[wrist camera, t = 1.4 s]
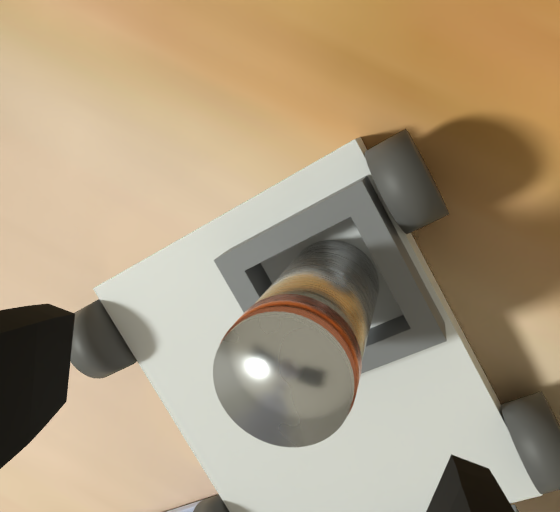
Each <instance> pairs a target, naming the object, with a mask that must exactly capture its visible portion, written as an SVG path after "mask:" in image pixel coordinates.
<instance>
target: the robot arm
mask: <svg viewBox="0 0 560 512" xmlns="http://www.w3.org/2000/svg"><path fill="white" fill-rule="evenodd" d="M74 320H75V314H74V313H71V312H69V311H66V310H63V309H61V308H58V307H55V306H53V305H50V304H41V305H32V306H24V307H18V308H12V309H6V310H0V469H1V468H2V467H3V466H4V465H5V464H6V463H7V462H9V461H10V460H11V459H12V458H13V457H14V456H15V455H17V454H18V453H19V452H20V451H21V450H22V449H23V448H24V447H25V446H27V445H28V444H29V443H30V442H31V441H32V439H33V438H34V437H35V436H36V435H37V434H38V433H39V432H40V431H41V430H42V429H43V428H44V427H45V425H46V424H47V423H48V422H49V421H50V420H51V419H52V417H53V416H54V415H55V414H56V413H57V412H58V410H59V409H60V408H61V407H62V406H63V405H64V404H65V402H66V399H67V389H68V379H69V369H70V359H71V350H72V340H73V330H74ZM201 501H202V500H201ZM199 502H200V501H198V502H194V503H191V504H188V505H185V506H182V507H179V508H176V509H173V510H169V511H166V512H193V511H194V509H195V507H196V505H197V504H198V503H199ZM426 512H515V511H514V510H513V508H512V506H511V505H510V503H509V501H508V499H507V498H506V496H505V494H504V492H503V491H502V489H501V487H500V486H499V484H498V482H497V481H496V479H495V477H494V476H493V474H492V473H491V471H490V469H489V468H486V467H484V466H481V465H478V464H476V463H473V462H470V461H468V460H465V459H462V458H460V457H457V456H454V455H452V454H451V456H450V459H449V461H448V463H447V466H446V468H445V470H444V472H443V475H442V477H441V479H440V481H439V484H438V486H437V488H436V491H435V493H434V495H433V497H432V500H431V502H430V504H429V506H428V509H427V511H426Z"/></svg>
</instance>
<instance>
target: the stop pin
mask: <svg viewBox="0 0 560 512" xmlns="http://www.w3.org/2000/svg"><path fill="white" fill-rule="evenodd" d="M378 294H379V279H378V274H377V271H376V269H375V266H374V265H373V263H372V261H371V260H370V259H369V257H368V256H367V255H366V254H365V253H364V252H363V251H361V250H360V249H359V248H357V247H356V246H354V245H352V244H349V243H347V242H343V241H339V240H323V241H319V242H316V243H313V244H311V245H309V246H308V247H306V248H305V249H303V250H302V251H301V252H300V253H299V254H298V255H297V256H296V257H295V259H294V260H293V261H292V262H291V263H290V264H289V265H288V267H287V268H286V269H285V270H284V271H283V272H282V273H281V274H280V276H279V277H278V278H277V279H276V280H275V281H274V282H273V284H272V285H271V286H270V287H269V288H268V289H267V290H266V291H265V293H264V294H263V295H262V296H261V297H260V298H259V299H258V300H257V302H256V303H255V304H253V305H252V306H251V307H249V308H248V309H247V310H246V311H245V312H244V313H243V314H242V316H241V317H240V318H239V319H238V320H237V321H236V322H235V323H234V324H233V326H232V327H231V328H230V329H229V330H228V331H227V333H226V334H225V336H224V337H223V339H222V341H221V343H220V345H219V348H218V350H217V352H216V355H215V358H214V364H213V381H214V386H215V390H216V393H217V396H218V399H219V401H220V403H221V405H222V406H223V408H224V410H225V411H226V413H227V414H228V415H229V416H230V418H231V419H232V420H233V421H234V422H235V423H236V424H237V425H238V426H239V427H240V428H242V429H243V430H244V431H245V432H247V433H248V434H250V435H252V436H253V437H255V438H257V439H259V440H261V441H263V442H266V443H269V444H272V445H276V446H281V447H305V446H310V445H313V444H316V443H319V442H321V441H323V440H325V439H327V438H328V437H330V436H331V435H332V434H334V433H335V432H336V431H337V430H338V429H339V428H340V427H341V425H342V424H343V422H344V421H345V419H346V418H347V416H348V414H349V413H350V411H351V409H352V407H353V404H354V401H355V397H356V393H357V389H358V385H359V380H360V376H361V370H362V359H363V355H364V351H365V347H366V343H367V339H368V334H369V330H370V326H371V322H372V318H373V314H374V310H375V306H376V302H377V298H378Z"/></svg>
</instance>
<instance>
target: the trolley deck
mask: <svg viewBox="0 0 560 512" xmlns="http://www.w3.org/2000/svg"><path fill="white" fill-rule="evenodd" d="M447 215H449V212H448V210H447V207H446V205H445V203H444V201H443V198H442V196H441V194H440V192H439V190H438V188H437V186H436V184H435V182H434V180H433V178H432V176H431V174H430V172H429V170H428V168H427V166H426V164H425V162H424V160H423V158H422V156H421V154H420V153H419V151H418V149H417V147H416V145H415V143H414V142H413V140H412V138H411V136H410V135H409V133H408V131H407V130H406V129H404V130H403V131H401V132H399V133H397V134H395V135H394V136H392V137H390V138H388V139H387V140H385V141H383V142H381V143H379V144H378V145H376V146H374V147H372V148H370V149H369V150H367V148H366V147H365V145H364V143H363V141H362V139H361V137H359V138H356V139H354V140H352V141H351V142H349V143H347V144H345V145H344V146H342V147H340V148H338V149H337V150H335V151H333V152H331V153H330V154H328V155H326V156H324V157H323V158H321V159H319V160H317V161H316V162H314V163H312V164H310V165H309V166H307V167H305V168H303V169H302V170H300V171H298V172H296V173H295V174H293V175H291V176H289V177H288V178H286V179H284V180H282V181H281V182H279V183H277V184H275V185H274V186H272V187H270V188H268V189H267V190H265V191H263V192H261V193H260V194H258V195H256V196H254V197H253V198H251V199H249V200H247V201H246V202H244V203H242V204H240V205H239V206H237V207H235V208H233V209H231V210H230V211H228V212H226V213H224V214H223V215H221V216H219V217H217V218H216V219H214V220H212V221H210V222H209V223H207V224H205V225H203V226H202V227H200V228H198V229H196V230H195V231H193V232H191V233H189V234H188V235H186V236H184V237H182V238H181V239H179V240H177V241H175V242H174V243H172V244H170V245H168V246H167V247H165V248H163V249H161V250H160V251H158V252H156V253H154V254H153V255H151V256H149V257H147V258H146V259H144V260H142V261H140V262H139V263H137V264H135V265H133V266H132V267H130V268H128V269H126V270H125V271H123V272H121V273H119V274H118V275H116V276H114V277H112V278H111V279H109V280H107V281H105V282H103V283H102V284H100V285H98V286H96V287H95V288H93V290H94V291H95V293H96V295H97V296H98V298H99V300H97V301H95V302H93V303H91V304H90V305H88V306H86V307H84V308H82V309H81V310H79V311H77V312H75V313H74V314H75V320H74V330H73V340H72V350H71V359H70V361H71V363H72V364H73V365H74V366H75V367H76V368H77V369H78V370H79V371H80V372H82V373H83V374H85V375H87V376H89V377H92V378H104V377H107V376H109V375H111V374H113V373H115V372H118V371H120V370H122V369H124V368H126V367H128V366H130V365H132V364H134V363H135V362H136V361H138V363H139V365H140V366H141V368H142V370H143V371H144V373H145V375H146V376H147V378H148V379H149V381H150V383H151V384H152V386H153V388H154V389H155V391H156V393H157V394H158V396H159V397H160V399H161V401H162V402H163V404H164V406H165V407H166V409H167V410H168V412H169V414H170V415H171V417H172V419H173V420H174V422H175V424H176V425H177V427H178V428H179V430H180V432H181V433H182V435H183V437H184V438H185V440H186V442H187V443H188V445H189V446H190V448H191V450H192V451H193V453H194V455H195V456H196V458H197V459H198V461H199V463H200V464H201V466H202V468H203V469H204V471H205V473H206V474H207V476H208V477H209V479H210V481H211V482H212V484H213V486H214V487H215V489H216V491H217V492H218V494H219V495H216V496H213V497H210V498H207V499H204V500H202V501H200V502H199V503H198V504H197V505H196V507H195V509H194V511H193V512H426V511H427V509H428V506H429V504H430V502H431V500H432V497H433V495H434V493H435V491H436V488H437V486H438V484H439V481H440V479H441V477H442V475H443V472H444V470H445V468H446V466H447V463H448V461H449V459H450V456H451V454H452V455H454V456H457V457H460V458H462V459H465V460H468V461H470V462H473V463H476V464H478V465H481V466H484V467H486V468H489V469H490V471H491V473H492V474H493V476H494V477H495V479H496V481H497V482H498V484H499V486H500V487H501V489H502V491H503V492H504V494H505V496H506V498H507V499H508V501H509V503H514V502H518V501H522V500H526V499H530V498H534V497H538V496H542V494H544V493H548V492H552V491H556V490H560V426H559V424H558V422H557V420H556V418H555V416H554V414H553V412H552V410H551V408H550V406H549V404H548V402H547V400H546V398H545V397H544V395H543V393H542V392H538V393H535V394H532V395H529V396H526V397H523V398H520V399H517V400H513V401H510V402H507V403H504V404H500V402H499V400H498V398H497V396H496V394H495V392H494V390H493V388H492V387H491V385H490V383H489V381H488V379H487V377H486V375H485V373H484V371H483V369H482V367H481V366H480V364H479V362H478V360H477V358H476V356H475V354H474V352H473V350H472V348H471V347H470V345H469V343H468V341H467V339H466V337H465V335H464V333H463V331H462V329H461V327H460V326H459V324H458V322H457V320H456V318H455V316H454V314H453V312H452V310H451V308H450V307H449V305H448V303H447V301H446V299H445V297H444V295H443V293H442V291H441V289H440V287H439V286H438V284H437V282H436V280H435V278H434V276H433V274H432V272H431V270H430V268H429V267H428V265H427V263H426V261H425V259H424V257H423V255H422V253H421V251H420V249H419V247H418V246H417V244H416V242H415V240H414V238H413V236H412V234H411V232H413V231H415V230H417V229H419V228H421V227H423V226H426V225H428V224H430V223H432V222H434V221H436V220H438V219H440V218H442V217H444V216H447ZM323 240H339V241H343V242H347V243H349V244H352V245H354V246H356V247H357V248H359V249H360V250H361V251H363V252H364V253H365V254H366V255H367V256H368V257H369V259H370V260H371V261H372V263H373V265H374V266H375V269H376V271H377V274H378V279H379V294H378V298H377V302H376V306H375V310H374V314H373V318H372V322H371V326H370V330H369V334H368V339H367V343H366V347H365V351H364V355H363V359H362V370H361V376H360V380H359V385H358V389H357V393H356V397H355V401H354V404H353V407H352V409H351V411H350V413H349V414H348V416H347V418H346V419H345V421H344V422H343V424H342V425H341V427H340V428H339V429H338V430H337V431H336V432H335V433H334V434H332V435H331V436H330V437H328V438H327V439H325V440H323V441H321V442H319V443H316V444H313V445H310V446H305V447H281V446H276V445H272V444H269V443H266V442H263V441H261V440H259V439H257V438H255V437H253V436H252V435H250V434H248V433H247V432H245V431H244V430H243V429H242V428H240V427H239V426H238V425H237V424H236V423H235V422H234V421H233V420H232V419H231V418H230V416H229V415H228V414H227V413H226V411H225V410H224V408H223V406H222V405H221V403H220V401H219V399H218V396H217V393H216V390H215V386H214V381H213V364H214V358H215V355H216V352H217V350H218V348H219V345H220V343H221V341H222V339H223V337H224V336H225V334H226V333H227V331H228V330H229V329H230V328H231V327H232V326H233V324H234V323H235V322H236V321H237V320H238V319H239V318H240V317H241V316H242V314H243V313H244V312H245V311H246V310H247V309H248V308H249V307H251V306H252V305H253V304H255V303H256V302H257V300H258V299H259V298H260V297H261V296H262V295H263V294H264V293H265V291H266V290H267V289H268V288H269V287H270V286H271V285H272V284H273V282H274V281H275V280H276V279H277V278H278V277H279V276H280V274H281V273H282V272H283V271H284V270H285V269H286V268H287V267H288V265H289V264H290V263H291V262H292V261H293V260H294V259H295V257H296V256H297V255H298V254H299V253H300V252H301V251H302V250H303V249H305V248H306V247H308V246H309V245H311V244H313V243H316V242H319V241H323ZM511 506H512V508H513V510H514V511H515V512H518V510H517V508H516V506H515V505H511Z"/></svg>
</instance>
